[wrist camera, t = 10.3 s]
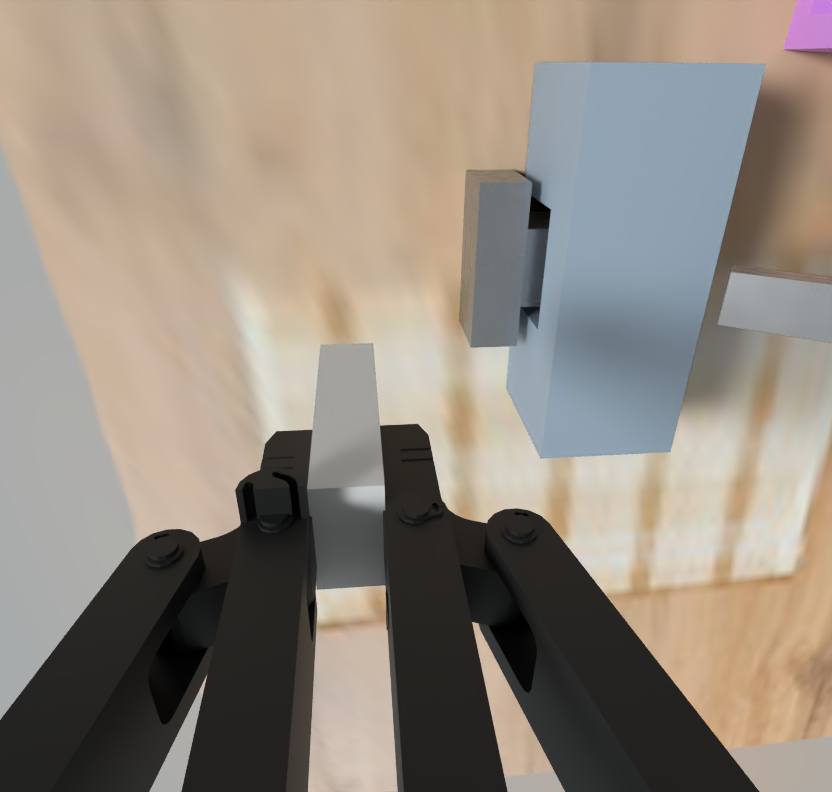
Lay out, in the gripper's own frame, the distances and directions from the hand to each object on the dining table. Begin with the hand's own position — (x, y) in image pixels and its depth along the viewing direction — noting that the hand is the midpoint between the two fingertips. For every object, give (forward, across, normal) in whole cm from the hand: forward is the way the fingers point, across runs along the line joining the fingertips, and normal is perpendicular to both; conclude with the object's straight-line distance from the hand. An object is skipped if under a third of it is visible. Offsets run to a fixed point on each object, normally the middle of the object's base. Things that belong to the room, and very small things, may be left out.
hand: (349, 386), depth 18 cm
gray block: (+17, +12, -1) cm, 21 cm away
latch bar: (+6, +23, -1) cm, 24 cm away
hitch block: (+17, +13, -1) cm, 22 cm away
